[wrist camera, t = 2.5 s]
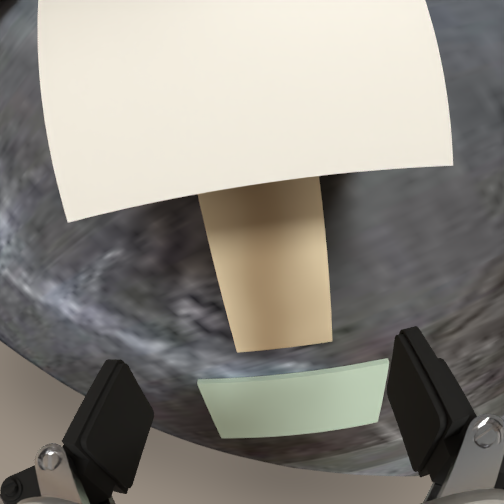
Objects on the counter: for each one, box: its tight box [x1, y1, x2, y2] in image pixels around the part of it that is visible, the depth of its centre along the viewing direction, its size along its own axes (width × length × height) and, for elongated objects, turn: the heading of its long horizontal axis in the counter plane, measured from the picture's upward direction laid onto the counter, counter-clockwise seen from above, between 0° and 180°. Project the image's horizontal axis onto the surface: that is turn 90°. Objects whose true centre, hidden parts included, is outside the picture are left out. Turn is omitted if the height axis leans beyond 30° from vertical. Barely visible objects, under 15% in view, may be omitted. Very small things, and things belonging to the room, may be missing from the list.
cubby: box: [38, 0, 453, 222], centre depth 11 cm, size 13×13×11 cm
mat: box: [197, 358, 389, 438], centre depth 28 cm, size 18×10×1 cm, turn 100°
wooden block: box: [198, 176, 332, 352], centre depth 16 cm, size 5×14×8 cm, turn 10°
